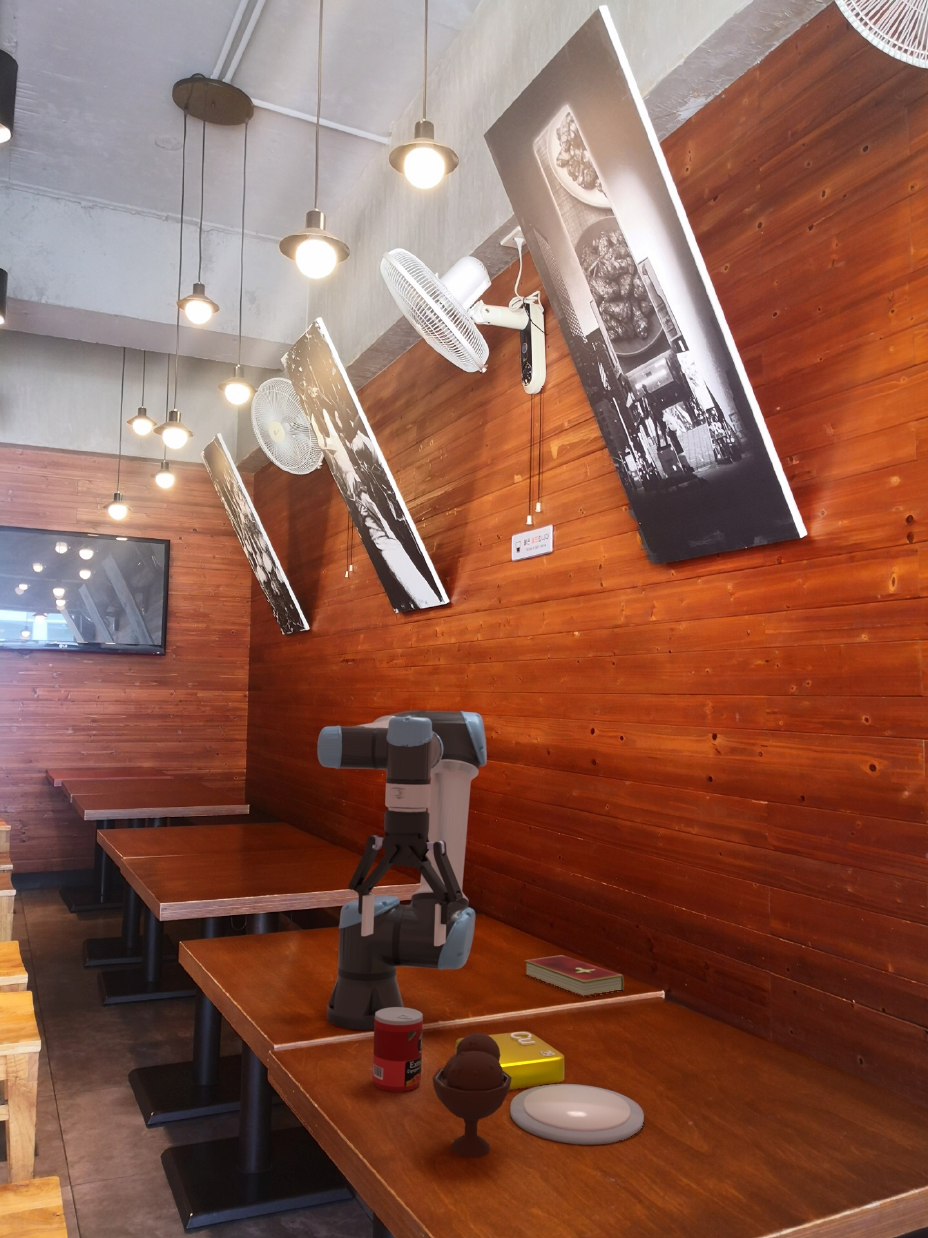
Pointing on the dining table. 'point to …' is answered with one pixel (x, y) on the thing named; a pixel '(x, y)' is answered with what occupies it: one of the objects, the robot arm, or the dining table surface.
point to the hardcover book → (574, 975)
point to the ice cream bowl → (472, 1089)
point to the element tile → (528, 1059)
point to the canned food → (397, 1049)
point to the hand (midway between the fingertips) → (402, 939)
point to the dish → (576, 1114)
